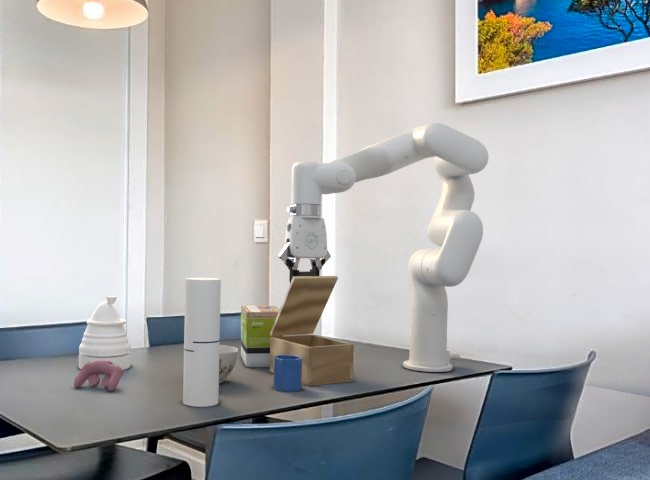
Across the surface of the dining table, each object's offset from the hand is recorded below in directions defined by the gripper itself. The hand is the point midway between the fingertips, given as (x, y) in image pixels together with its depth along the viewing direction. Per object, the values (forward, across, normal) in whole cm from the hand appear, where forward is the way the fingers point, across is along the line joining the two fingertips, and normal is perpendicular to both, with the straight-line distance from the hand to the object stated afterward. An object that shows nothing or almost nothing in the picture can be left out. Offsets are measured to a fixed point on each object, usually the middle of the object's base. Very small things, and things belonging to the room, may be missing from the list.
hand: (304, 285), depth 167 cm
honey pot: (+22, -42, +28) cm, 55 cm away
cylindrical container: (+22, -35, -16) cm, 45 cm away
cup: (+22, -12, -12) cm, 28 cm away
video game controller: (+22, -50, +5) cm, 55 cm away
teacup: (+22, -25, +2) cm, 34 cm away
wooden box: (+22, 0, -3) cm, 22 cm away
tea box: (+22, -2, +18) cm, 28 cm away
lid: (+5, 0, 0) cm, 5 cm away
